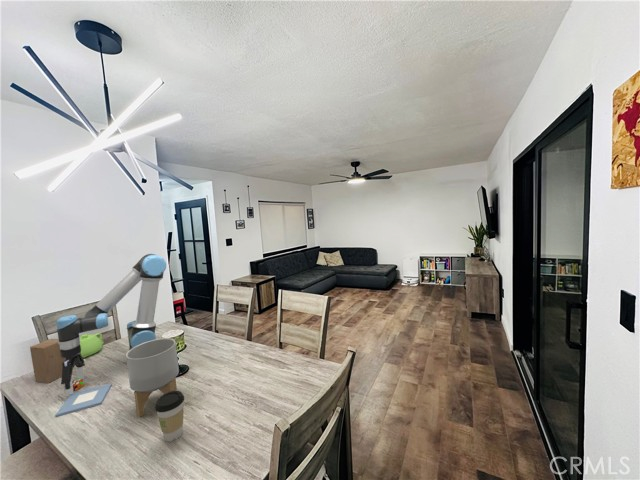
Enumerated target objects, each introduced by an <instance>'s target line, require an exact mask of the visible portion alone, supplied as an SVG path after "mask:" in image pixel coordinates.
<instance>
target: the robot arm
mask: <svg viewBox="0 0 640 480" xmlns="http://www.w3.org/2000/svg"><path fill="white" fill-rule="evenodd" d="M131 269H132V270H131V271H130V272H129V273H127V275H126V276H125V277H123V278H122V279H121V280H120V281H119V282H118V283H117V284H116V285H115V286H114V287H113V288H111V290H110V291H109V292H108V293H106V295H105V296H103V297H102V298H101V299H100V300H99V301H98V302H97V303H96V304H95V305H94V306H93V307H92V308H90V309H88V311H86V313H84V314H85V315H84V317H79V318H78V316H77V315H75V314H72V315H66V316H62V317H60V318H58V319H57V320H56V332H57V339H59V343H58V344H59V345H60V349H61V350H60V354H61V357H62V358H66V360H65V362H63V363H62V365H63V369H62V377H61V381H60V384H61V385H63V386H64V393H65V397H66V396H70V395H71V394H73V393H74V391H73V385H72V381H73V380H72V375H73V371H74V370H73V369H74V368H75V371H76V372H75V373H76V379H78V378H79V379H82V380H84V379H85V372H84V371H85V370H84V366H86V363H85V360H84V358H82V355H81V353H80V352H81V345H80V337H81V336H80V334H81V333H82V334H83V333H87V332H92V331H95V330H101V329H103V328H106V327H108V326H109V317H108V313H109V312H110V311H111V310H112V309H113V308H114V307H115V306H116V305H117V304H119V302H120V301H122V299H123V298H124V297H125V296H127V294H129V292H130V291H132V290H133V289H134V287H135V286H137V285H138V283H140V282H141V287H140V293H139V299H138V307H137V314H136V320H132V321H129V322H128V323H127V324H126V330H127V337H128V338H127V339H128V345H129V346H128V347H129V348H128V351H129V350H131V349H132V348H134V347H135V346H137V345H140V344H142V343H145V342H148V341H151V340H155V339H157V335H156V325H157V323H156V322H155V320H154V319H155V313H156V308H157V300H158V294H159V288H160V287H159V286H160V281H161V280H164V279H163V278H164V273H165V271H166V270H167V262H166V260H165V259H164V258H163V257H162V256H161V255H158V254H155V253H147V254H145V255H143V256H142V257H141V258H140V259H139V260H138V261H137V262H136V264H134V265H133V266H132V268H131Z"/></svg>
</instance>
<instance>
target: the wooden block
mask: <svg viewBox="0 0 640 480" xmlns="http://www.w3.org/2000/svg"><path fill="white" fill-rule="evenodd" d="M58 343H59V339H58V338H50V339H47V340H44V341H41V342H39V343H36V344H33V345H32V346H30V347H29V350H30V355H31V361H32V362H31V363H32V366H33V367H32V368H33V373H34V380H35V382H36V383H43V384H44V383H45V384H50V383H53V382H54V381H56V380H58V379H60V378H62V369H63V365H62V363H63V362H65V360H66V358H62V357H61V354H60V350H61V349H60V345H59V344H58Z"/></svg>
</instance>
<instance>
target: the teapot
mask: <svg viewBox="0 0 640 480" xmlns="http://www.w3.org/2000/svg"><path fill="white" fill-rule="evenodd" d="M98 336H99V337H98ZM79 337H80V345H81V352H80V353H81V355H82V358H83V359H85V358H87V357H89V356H91V355H94V354H96V353H97V354H98V353H99V352H100V351H101V349H102V347H103V345H104V340H102V338H103V334H102V333H99V332H97V333H95V334H93V333H92V334H87V333H84V334H82V335H81V336H79Z"/></svg>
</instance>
